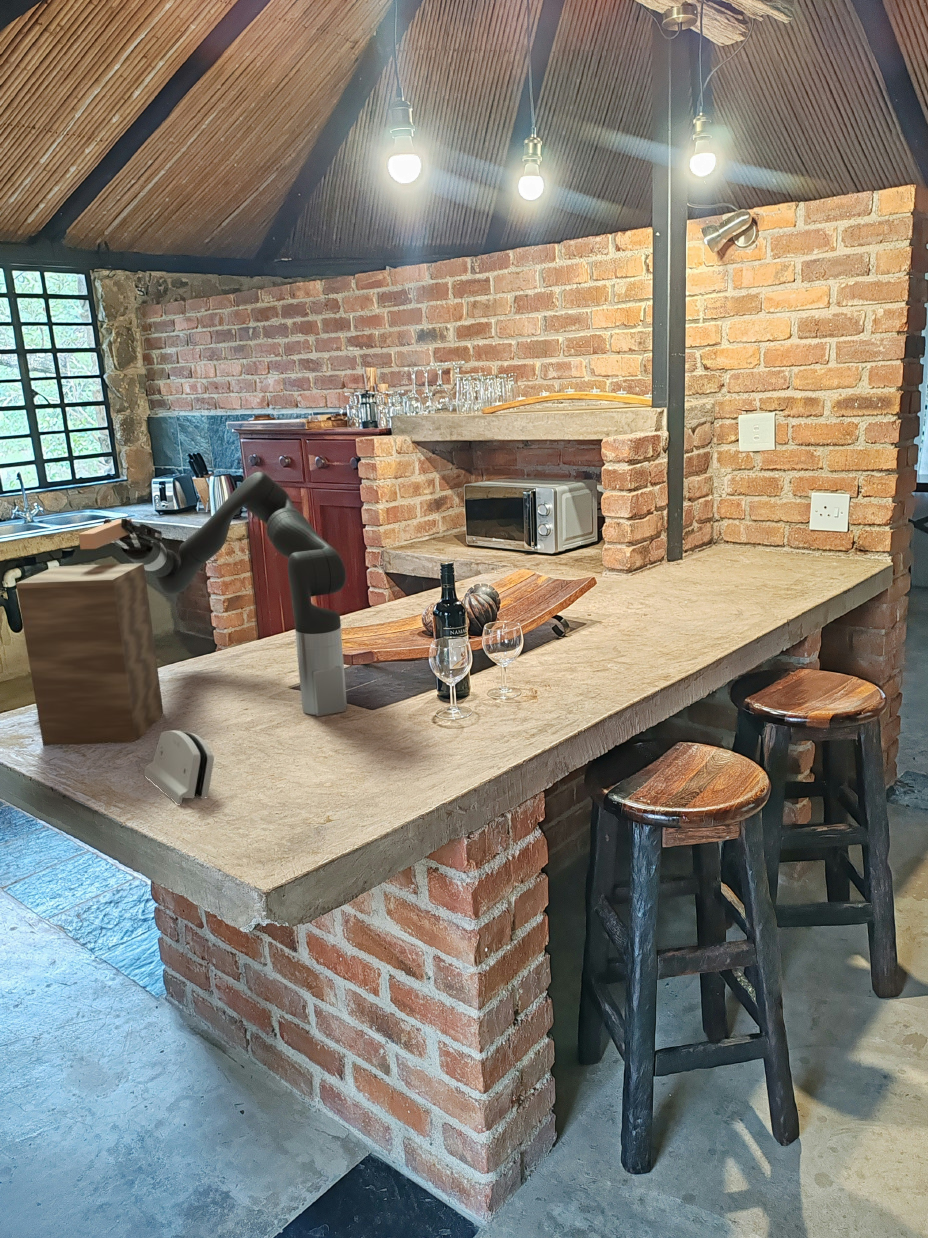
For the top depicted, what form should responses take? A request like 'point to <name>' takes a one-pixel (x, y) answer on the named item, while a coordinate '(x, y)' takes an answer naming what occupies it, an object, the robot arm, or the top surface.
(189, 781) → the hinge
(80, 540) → the tan block
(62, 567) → the pedestal
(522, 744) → the top surface
